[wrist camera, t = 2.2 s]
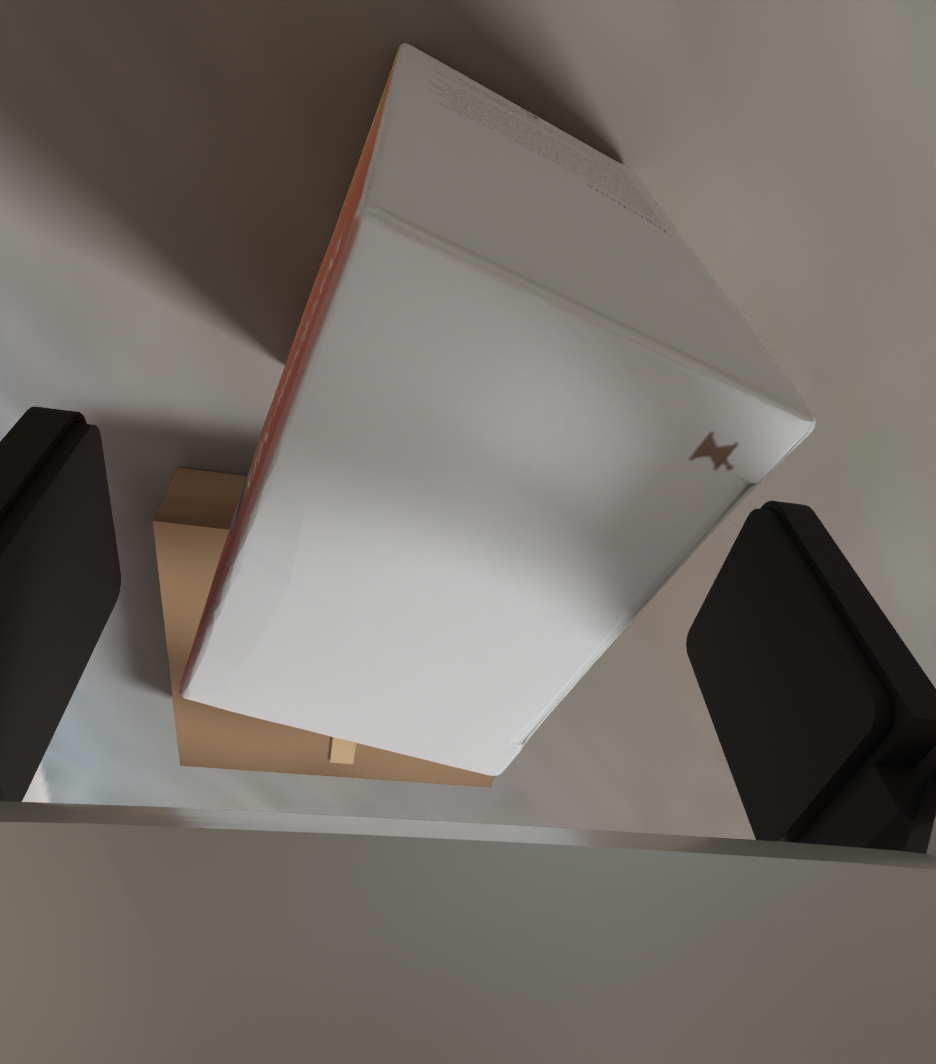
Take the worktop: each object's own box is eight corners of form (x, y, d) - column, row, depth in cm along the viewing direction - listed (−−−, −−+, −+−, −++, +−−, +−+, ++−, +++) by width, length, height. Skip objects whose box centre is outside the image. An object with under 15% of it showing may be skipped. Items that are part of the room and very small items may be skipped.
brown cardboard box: (178, 467, 21) (151, 523, 19) (558, 514, 22) (570, 571, 20) (197, 708, 28) (179, 768, 26) (487, 732, 29) (490, 790, 27)
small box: (402, 33, 14) (358, 177, 6) (638, 168, 16) (842, 418, 8) (279, 370, 19) (163, 707, 11) (474, 448, 21) (500, 790, 13)
